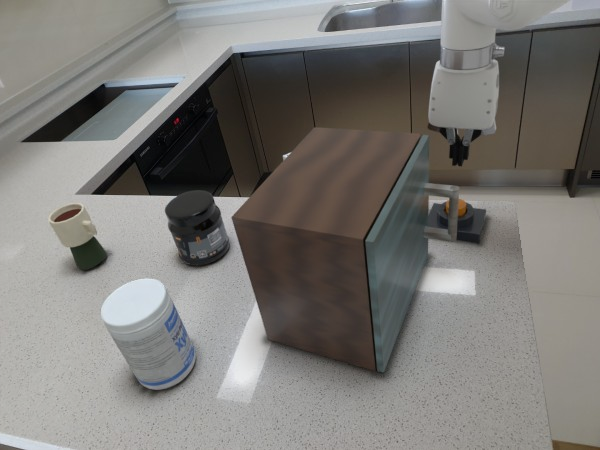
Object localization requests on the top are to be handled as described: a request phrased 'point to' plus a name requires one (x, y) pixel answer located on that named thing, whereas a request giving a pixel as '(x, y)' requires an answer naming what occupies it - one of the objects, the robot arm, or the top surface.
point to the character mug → (77, 234)
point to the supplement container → (197, 227)
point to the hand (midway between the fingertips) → (458, 162)
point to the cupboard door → (403, 247)
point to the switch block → (459, 221)
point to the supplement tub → (149, 333)
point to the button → (460, 207)
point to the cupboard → (321, 239)
